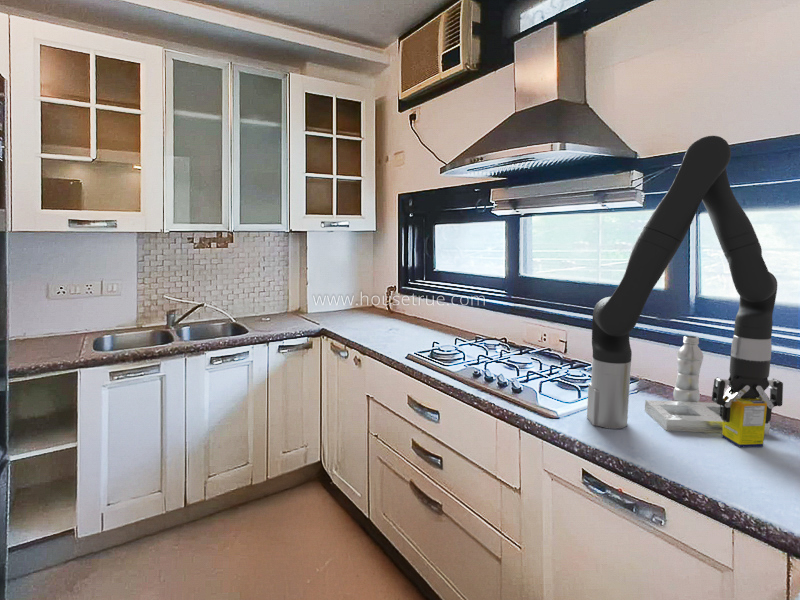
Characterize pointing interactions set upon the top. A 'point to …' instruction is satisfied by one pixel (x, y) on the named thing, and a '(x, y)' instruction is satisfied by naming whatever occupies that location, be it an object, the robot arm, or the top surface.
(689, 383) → the plastic bottle
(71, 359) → the top surface
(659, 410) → the rail plate
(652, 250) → the robot arm
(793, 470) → the top surface
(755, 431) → the supplement box
